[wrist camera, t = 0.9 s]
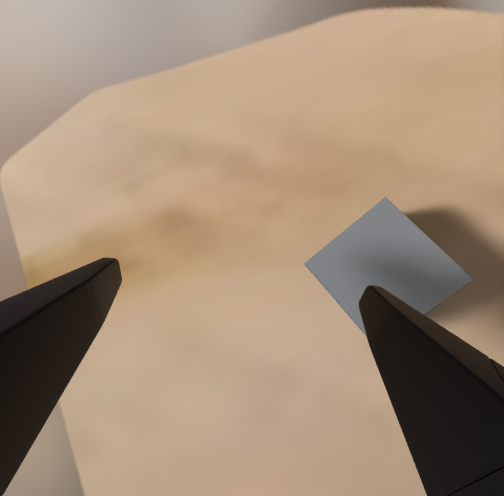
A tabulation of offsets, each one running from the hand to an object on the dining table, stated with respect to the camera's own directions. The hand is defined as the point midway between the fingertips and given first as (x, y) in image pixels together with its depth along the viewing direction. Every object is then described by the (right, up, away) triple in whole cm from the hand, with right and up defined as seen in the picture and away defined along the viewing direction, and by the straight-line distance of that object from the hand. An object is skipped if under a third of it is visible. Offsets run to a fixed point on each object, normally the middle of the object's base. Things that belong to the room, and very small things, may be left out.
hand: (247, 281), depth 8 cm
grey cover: (+10, -1, +12) cm, 16 cm away
